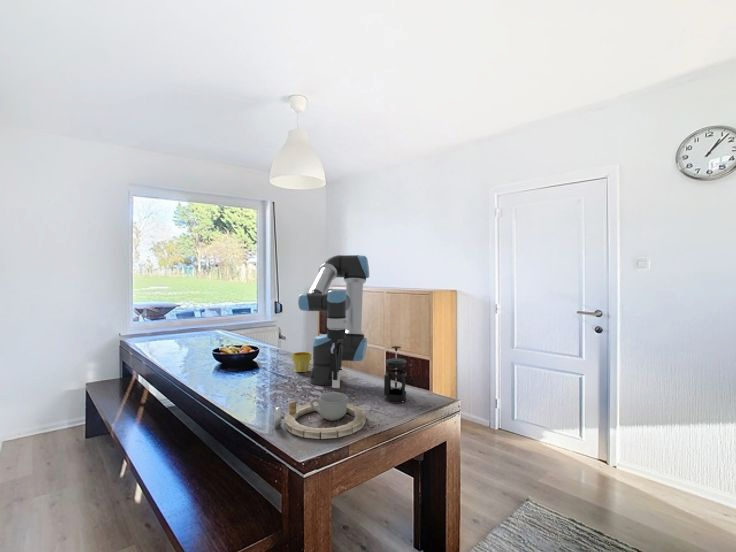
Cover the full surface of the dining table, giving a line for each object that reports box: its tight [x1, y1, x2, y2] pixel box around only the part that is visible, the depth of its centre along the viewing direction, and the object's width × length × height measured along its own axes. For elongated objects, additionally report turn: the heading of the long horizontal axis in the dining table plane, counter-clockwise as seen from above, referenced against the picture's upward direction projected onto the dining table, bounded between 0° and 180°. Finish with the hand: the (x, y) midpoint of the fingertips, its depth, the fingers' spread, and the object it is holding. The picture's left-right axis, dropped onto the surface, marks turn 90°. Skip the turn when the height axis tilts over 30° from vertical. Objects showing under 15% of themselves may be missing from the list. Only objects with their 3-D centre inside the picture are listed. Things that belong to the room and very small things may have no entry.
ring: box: [284, 400, 367, 440], centre depth 137 cm, size 29×29×6 cm
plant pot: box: [291, 351, 312, 373], centre depth 207 cm, size 10×10×10 cm
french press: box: [383, 345, 408, 403], centre depth 161 cm, size 12×9×23 cm
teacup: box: [309, 391, 348, 421], centre depth 142 cm, size 14×11×8 cm
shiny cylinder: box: [273, 406, 285, 430], centre depth 132 cm, size 2×3×7 cm
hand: (335, 387), depth 151 cm, fingers closed
